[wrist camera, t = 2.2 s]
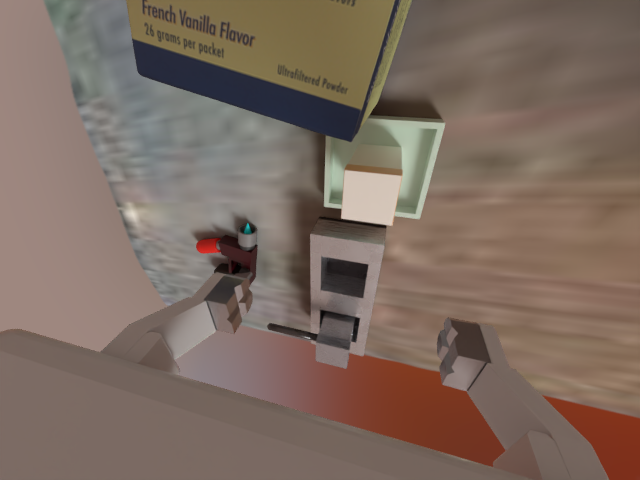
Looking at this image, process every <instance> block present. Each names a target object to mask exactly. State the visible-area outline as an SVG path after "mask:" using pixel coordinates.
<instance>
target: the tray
mask: <svg viewBox="0 0 640 480" xmlns="http://www.w3.org/2000/svg"><path fill="white" fill-rule="evenodd" d="M444 127H445V122H444V121H443V119H432V118H414V117H396V116H378V115H369V116H368V118H367V119H366V121H365V122H364V124H363V125H362V127H361V128H360V130H359V131H358V133H357V134H356V136H355V137H354V139H353V141H352V142H348V141H345V140H341V139H337V138H334V137H330V136H327V135H326V149H325V187H324V207H331V208H338V209H342V195H343V181H344V169H345V167H346V165H347V164H348V163H349V161H350V160H351V158H352V156H353V154H354V152H355V150H356V149H357V147H358V145H359V144H369V145H382V146H394V147H402V169H403V176H402V181H401V186H400V191H399V196H398V201H397V205H396V210H395V215H394V216H399V217H406V218H414V219H420V216H421V212H422V209H423V205H424V201H425V197H426V194H427V190H428V186H429V183H430V179H431V175H432V171H433V168H434V164H435V160H436V157H437V153H438V149H439V145H440V142H441V138H442V134H443V130H444Z"/></svg>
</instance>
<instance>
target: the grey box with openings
mask: <svg viewBox="0 0 640 480" xmlns="http://www.w3.org/2000/svg"><path fill="white" fill-rule="evenodd" d="M385 236H386V226H381V225H374V224H367V223H360V222H353V221H346V220H338V219H331V218H324V217H319V219H318V220H317V222H316V224H315V226H314V228H313V230H312V231H311V233H310V277H311V332H306V331H302V330H298V329H294V328H290V327H285V326H281V325H277V324H273V323H270V324H268V326H267V328H268V329H269V330H272V331H276V332H280V333H284V334H288V335H292V336H297V337H301V338H305V339H309V340H311V343H312V344H315V345H316V361H318V362H322V363H326V364H330V365H334V366H338V367H341V368H345V369H346V368H347V364H348V358H349V353H352V354H356V355H360V356H363V355H364V350H365V345H366V339H367V334H368V329H369V324H370V319H371V314H372V308H373V303H374V298H375V293H376V288H377V283H378V277H379V272H380V267H381V262H382V257H383V251H384V246H385Z"/></svg>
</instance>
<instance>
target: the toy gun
mask: <svg viewBox="0 0 640 480" xmlns="http://www.w3.org/2000/svg"><path fill="white" fill-rule="evenodd" d="M256 242H257V228H254V233H252V232H251V229H250V226H249V224H247V225H245V224H244V225H241V226H239V228H238V239H237V238H234V237H231V236H228V235H225V236H224V237H223V238H222V239H220V238H214V239H204V240H200V241H199V242H198V243H197V245H196V248H197V250H198V251H199V252H200V253H216V252H221V254H222V255H225V256H228V257H229V259H228V263H229V264H220V265H219V266H218V267H217V268H216V269H215V270H214V273H216V272H219V273H223V274H229V275H233V276H238V277H242V278H246V279H249V281H250V285H251V283H252V282H253V280H254V279H255V277H256V259H257V245H255V244H256ZM238 262H239V263H242V266H239V265H238Z"/></svg>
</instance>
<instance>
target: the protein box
mask: <svg viewBox="0 0 640 480" xmlns="http://www.w3.org/2000/svg"><path fill="white" fill-rule="evenodd" d="M126 1H127V8H128V14H129V21H130V27H131V34H132V40H133V47H134V53H135V59H136V65H137V70H138V73H139V74H140V75H141V76H144V77H147V78H149V79H152V80H155V81H158V82H161V83H165V84H168V85H171V86H174V87H177V88H180V89H183V90H187V91H190V92H193V93H196V94H199V95H202V96H205V97H209V98H212V99H215V100H218V101H221V102H224V103H227V104H230V105H234V106H237V107H240V108H243V109H246V110H249V111H252V112H255V113H258V114H261V115H264V116H268V117H271V118H274V119H277V120H280V121H283V122H287V123H290V124H293V125H296V126H299V127H302V128H305V129H308V130H311V131H314V132H317V133H320V134H324V135H327V136H330V137H334V138H337V139H341V140H345V141H348V142H352V141H353V139H354V137H355V136H356V134H357V133H358V131H359V130H360V128H361V127H362V125H363V124H364V122H365V121H366V119H367V118H368V116H369V115H370V113H371V112H372V110H373V108H374V107H375V106H376V104H377V103H378V101H379V99H380V96H381V93H382V90H383V87H384V84H385V81H386V78H387V75H388V72H389V69H390V66H391V63H392V60H393V57H394V54H395V51H396V48H397V45H398V42H399V39H400V36H401V33H402V30H403V27H404V24H405V21H406V18H407V15H408V12H409V9H410V6H411V3H412V0H126Z"/></svg>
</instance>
